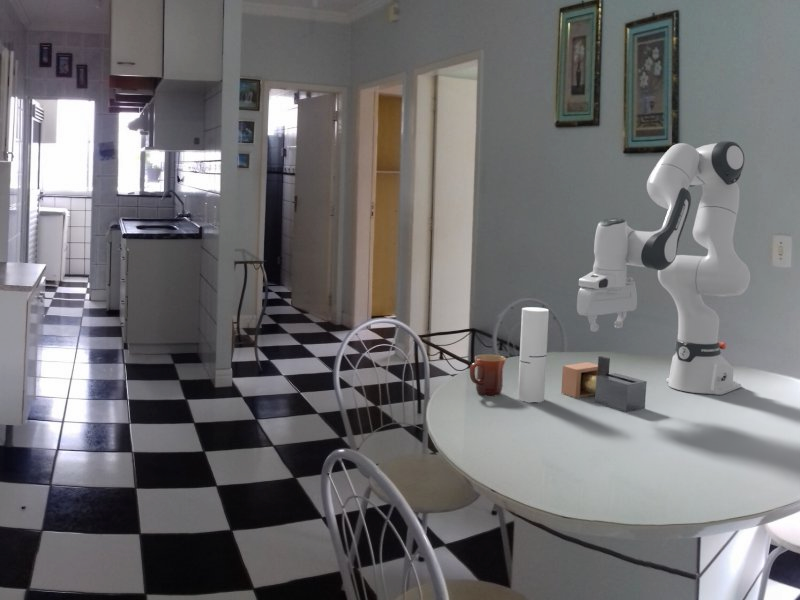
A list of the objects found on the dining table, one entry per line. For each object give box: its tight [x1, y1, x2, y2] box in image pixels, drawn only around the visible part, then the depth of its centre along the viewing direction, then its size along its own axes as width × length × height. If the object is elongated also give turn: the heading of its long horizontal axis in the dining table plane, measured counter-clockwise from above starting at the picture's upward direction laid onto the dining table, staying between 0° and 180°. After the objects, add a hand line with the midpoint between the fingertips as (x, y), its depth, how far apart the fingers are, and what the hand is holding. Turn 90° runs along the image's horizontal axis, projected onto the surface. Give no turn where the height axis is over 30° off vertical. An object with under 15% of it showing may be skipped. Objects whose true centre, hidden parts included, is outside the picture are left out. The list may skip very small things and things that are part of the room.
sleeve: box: [594, 372, 647, 413], centre depth 215 cm, size 7×11×7 cm
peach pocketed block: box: [560, 361, 598, 399], centre depth 227 cm, size 10×5×8 cm, turn 124°
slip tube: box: [580, 355, 611, 395], centre depth 223 cm, size 5×12×11 cm, turn 34°
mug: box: [469, 354, 507, 397], centre depth 223 cm, size 12×9×10 cm
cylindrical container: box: [517, 306, 550, 403], centre depth 218 cm, size 7×7×25 cm
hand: (606, 329), depth 218 cm, fingers open, 8 cm apart
